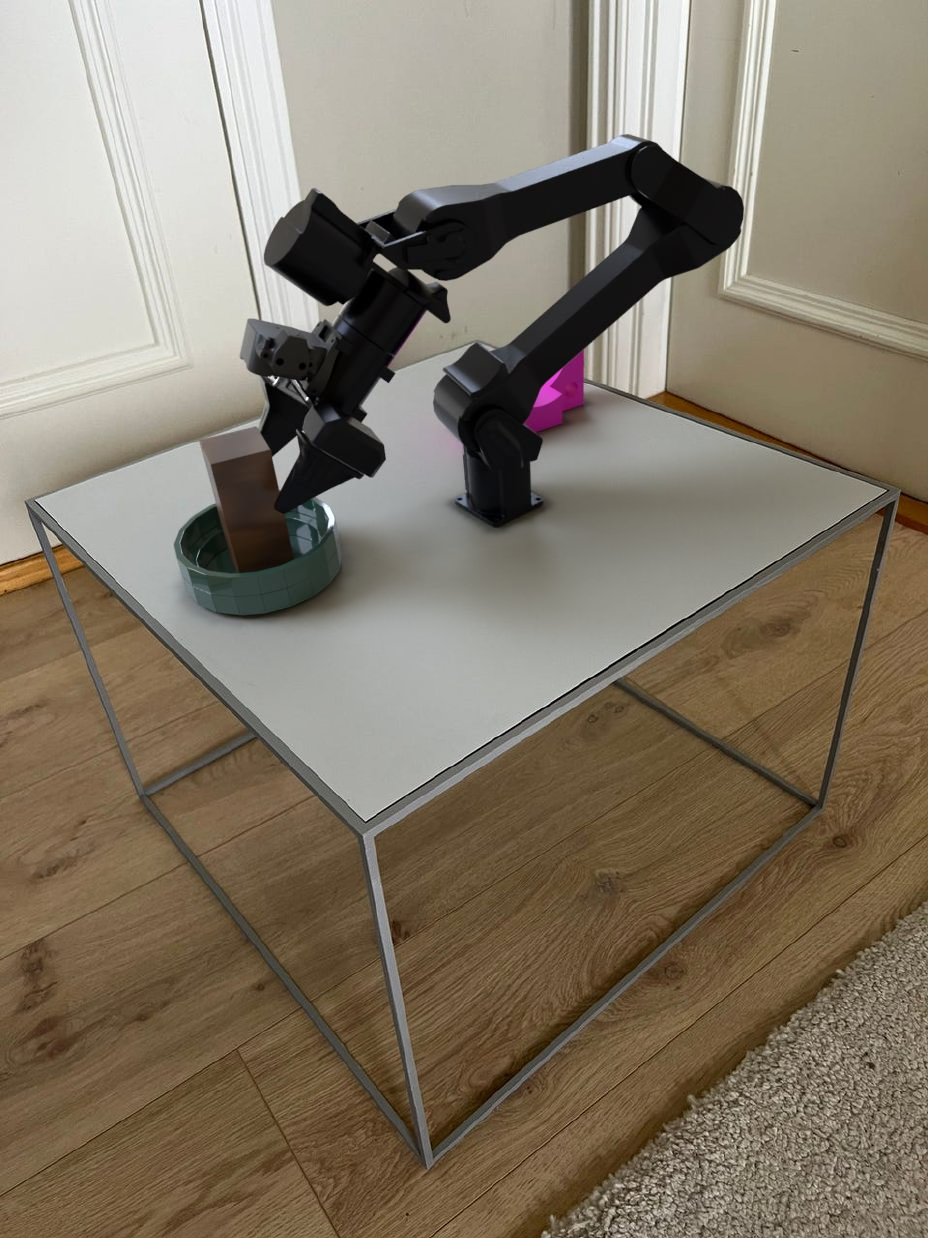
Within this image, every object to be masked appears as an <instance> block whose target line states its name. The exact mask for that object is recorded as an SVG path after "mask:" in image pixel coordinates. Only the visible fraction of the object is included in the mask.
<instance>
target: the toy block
mask: <svg viewBox="0 0 928 1238" xmlns="http://www.w3.org/2000/svg"><path fill="white" fill-rule="evenodd" d="M584 376H585V349H584V350H583V351H582V352H580V353H579V354H578V355H577V356H576V357H575V358H574V359H572V360H571V361H570V362H569V363H568V364H567V365H566V366H564V367H563V368H562V369H561V370H560V371H559V372H558V373H557V374H555V375H554V376H553V377H552V378H551V379H550V380H549V381H547V382H546V383H545V384H544V386H543V387H542V388H541V390H540V392H539V395H538V397H537V399H536V402H535V404H534V407H533V409H532V411H531V414H530V416H529V418H528V419H527V420H526V421H525V424H526V425H527V426H529V427H530V428H531V429H532V430H533V431H534V432H535V433H537V432H540V431H543V430H545V429H549V428H552V427H555V426H558V425H561V424H563V412H564V411H568V410H571V409H573V408H577V407H580V406H582V405H584V402H585V401H584V397H585V393H584V391H585V389H584V388H585V385H584V384H585V377H584Z"/></svg>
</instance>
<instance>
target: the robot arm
mask: <svg viewBox="0 0 928 1238" xmlns="http://www.w3.org/2000/svg"><path fill="white" fill-rule="evenodd" d="M627 197H629V198H630V199H631V200H632V201H633V202H634V203H636V204H637V205H638V206H639V207H640V208H639V209H638V211H637V213H636V216H635V219H634V221H633V224H632V226H631V228H630V231H629V232H628V233H629V234H628V236H627V238H626V239H625V240H623V242H621V244H620V245H619V246H617V247H616V248H615V249H614V250H613V251H612V252H611V253H609V255H607V256H606V257H605V258H604V259H603V260H601V262H599V263H598V264H597V265H596V266H595V267H594V268H592V270H590V271H589V272H588V273H587V274H586V275H585V276H584V277H582V278H581V279H580V280H578V282H577V283H576V284H574V285H573V286H572V287H571V288H570V289H569V290H568V291H567V292H566V293H564V294H563V295H562V296H561V297H560V298H558V299H557V301H555V302H554V303H553V304H552V305H551V306H549V308H548V309H546V311H544V312H542V314H541V315H540V316H538V317H537V318H536V319H535V320H534V321H533V322H532V323H531V324H529V326H527V327H526V328H525V329H524V330H523V331H522V332H520V333H519V334H518V335H517V336H516V337H514V339H513V340H511V341H510V342H509V343H507V344H506V345H504V346H501V347H498V348H496V349H492V350H489V349H488V348H486V347H485V346H484V345H482V344H481V343H480V342H479V341H476V342H474V343H473V344H472V345H470V346H469V347H468V348H467V349H466V350H465V351H464V353H463V354H462V355H461V356H460V358H458V359H457V360H456V361H454V362H453V363H452V364H450V365H446V366H444V367H443V368H442V372H443V373H445V374H444V375H443V376H442V378H441V379H440V380H439V381H438V382H437V384H436V386H435V387H434V389H433V393H434V394H433V401H432V406H433V412H434V414H435V416H436V418H437V419H438V421H440V422H441V423H442V425H443V426H444V427H446V429H447V430H448V431H449V432H450V433H451V434H452V436H454V437H455V438H456V439H457V440H458V441H459V442H460V443H461V444H462V448H463V454H462V462H463V475H464V488H465V489H464V490H465V491H466V492H465V493H463V494H461V495H458V496H456V497H455V498H454V504H455V505H456V506H458V507H459V508H461V509H463V510H464V511H466V512H468V513H470V514H471V515H473V516H474V517H476V518H477V519H479V520H481V521H482V522H484V523H486V524H487V525H489V526H491V527H495V528H496V527H499V526H501V525H503V524H505V523H507V522H510V521H513V520H514V519H516V518H518V517H520V516H522V515H524V514H526V513H529V512H530V511H532V510H534V509H536V508H538V507H541V506H542V505H544V501H545V500H544V499H545V498H543V497H542V496H541V495H539V494H537V493H535V492H534V491H532V474H531V473H532V472H531V470H532V469H531V463H533V462H535V461H537V460H538V458H539V456H540V452H541V449H542V445H543V443H544V439H543V438H542V436H540V435H539V434H538V433H537V432H534V431H533V430H532V429H531V428H530V427H529V426H527V425H526V424H525V421H526V420H527V419H528V418H529V416H530V414H531V411H532V409H533V407H534V404H535V402H536V399H537V397H538V395H539V392H540V390H541V388H542V387H543V386H544V384H545V383H546V382H547V381H549V380H550V379H551V378H552V377H553V376H554V375H555V374H557V373H558V372H559V371H560V370H561V369H562V368H563V367H564V366H566V365H567V364H568V363H569V362H570V361H571V360H572V359H574V358H575V357H576V356H577V355H578V354H579V353H580V352H582V351H583V350H584V351H585V349H586V348H587V347H589V346H590V345H591V344H592V343H594V341H595V340H596V339H598V338H599V337H600V336H601V335H602V334H603V333H604V332H605V331H607V330H608V329H609V328H610V327H611V326H612V325H614V324H615V323H616V322H617V321H618V320H619V319H620V318H622V317H623V316H624V315H625V314H627V312H629V310H630V309H632V308H633V307H634V306H636V304H637V303H638V302H640V301H641V300H642V299H643V298H644V297H645V296H647V295H648V294H649V293H650V292H651V291H652V290H654V289H655V287H657V286H658V285H659V284H660V283H662V282H663V281H665V280H667V279H670V278H674V277H677V276H680V275H682V274H683V275H684V274H686V273H688V272H692V271H695V270H698V269H700V268H701V267H704V266H705V265H707V264H708V263H710V262H712V260H715V258H717V257H719V256H720V255H721V254H723V253H724V252H726V251H728V250H729V249H731V247H732V246H733V245H734V244H735V242H737V240H738V239H739V237H740V236H741V233H742V225H743V222H744V218H745V217H744V216H745V215H744V214H745V205H744V201H743V198H742V196H741V195H740V193H739V191H738V190H736V189H735V188H734V187H732V186H731V185H728V184H724V183H721V182H718V181H715V180H712V179H709V178H706V177H702V176H701V175H699V174H697V172H695V171H693V170H692V169H690V168H688V167H687V166H685V165H684V164H683V163H681V162H679V161H678V160H677V159H675V158H674V157H673V156H671V155H670V154H669V153H667V152H666V151H665V150H664V149H663V147H661V145H659V144H658V142H655V141H653V140H651V139H650V140H649V139H646V138H644V137H643V138H642V137H640V136H637V135H633V134H631V133H630V134H629V133H625V134H620V135H618V136H616V137H614V138H612V139H611V140H610V141H609V142H606V143H603V144H600V145H598V146H595V147H592V148H589V149H587V150H583V151H581V152H577V153H575V154H571V155H569V156H566V157H563V158H561V159H558V160H555V161H552V162H549V163H546V164H543V165H541V166H538V167H535V168H531V169H530V170H529V169H528V170H526V171H524V172H521V173H517V174H516V175H513V176H509V177H506V178H504V179H501V180H497V181H495V182H489V183H483V184H450V185H444V186H443V185H442V186H436V187H429V188H421V189H416V190H414V191H411V192H410V193H408V194H406V195H404V196H403V197H402V198H401V199H400V200H399V201H398V202H397V203H398V205H397V207H396V208H395V209H392V210H388V211H386V212H384V213H381V214H378V215H375V216H372V217H370V218H367V219H364V220H362V221H359V222H356V221H354V220H353V219H352V218H350V217H349V216H348V215H346V213H344V212H343V211H342V210H340V208H339V206H337V204H336V203H335V202H334V200H332V199H331V198H329V197H328V196H327V195H326V194H324V193H323V192H321V190H319V189H317V188H316V187H313V188H311V189H310V191H309V192H308V194H307V195H306V197H305V199H303V200H301V201H298V202H297V203H296V204H295V205H293V206H292V208H291V209H289V211H288V212H287V213H286V214H285V215H284V217H283V216H280V218H278V220H277V222H276V223H275V225H274V227H273V229H272V230H271V232H270V234H269V237H268V239H267V241H266V244H265V247H264V251H263V263H264V265H265V266H266V267H268V268H269V269H270V270H271V271H273V272H275V273H276V274H278V275H279V276H280V277H281V278H283V279H285V280H286V281H287V282H290V284H292V285H294V286H295V287H296V288H297V289H300V291H302V292H304V293H305V294H307V295H308V296H310V297H311V298H312V299H314V300H315V301H316V302H318V303H319V304H321V305H322V306H325V307H331V306H333V305H335V304H337V303H339V304H340V305H342V308H341V309H340V311H339V313H338V314H337V316H336V317H335V319H334V320H333V321H332V323H331V321H328V319H326V318H324V319H323V321H321V320H319V321H317V323H316V325H315V327H314V328H313V329H312V331H306V330H302V329H300V328H299V329H298V328H296V327H292V326H290V325H289V326H288V325H283V324H279V323H275V322H271V321H266V320H262V319H257V318H247V320H246V323H245V329H244V333H243V338H242V341H241V347H240V351H239V356H238V358H239V359H240V360H243V361H244V363H245V368H246V369H247V371H249V372H250V373H252V374H254V375H256V376H258V379H259V381H260V384H261V388H262V392H263V396H264V405H263V409H262V414H261V416H260V421H259V425H258V427H257V428H258V430H259V432H260V433H261V435H262V437H263V438H264V440H265V442H266V443H267V445H268V447H269V448H270V450H271V454H272V458H273V457H274V456H276V455H277V454H278V453H279V452H280V451H281V450H283V449H284V448H285V447H286V446H287V445H288V444H289V443H290V442H292V441H293V440H294V439H295V438H297V444H298V449H299V453H298V456H297V458H296V460H295V462H294V464H293V466H292V468H290V469H291V470H290V471H289V473H288V475H287V477H286V479H285V481H284V483H283V484H282V487H281V489H280V490H281V491H280V493H279V495H278V497H277V499H276V502H275V504H274V509H275V510H276V511H278V512H280V513H282V514H285V513H287V512H289V511H291V510H293V509H294V508H296V507H298V506H300V505H302V504H304V503H305V502H307V501H309V500H311V499H313V498H314V497H316V498H317V497H318V496H320V495H322V494H324V493H326V492H327V491H329V490H331V489H334V488H336V487H338V486H341V485H342V484H344V483H347V482H348V481H351V480H353V479H357V480H361V479H363V478H364V477H365V476H366V477H368V478H369V479H371V478H374V477H375V476H376V475H377V473H378V472H379V470H380V469H381V467H382V466H383V465H384V463H385V462H386V461H387V456H386V449H385V444H384V443H383V442H382V440H381V439H380V438H379V437H378V436H377V435H376V433H375V432H374V431H373V430H372V428H371V427H369V426H368V425H366V424H364V423H363V422H364V420H365V418H366V417H367V416H368V412H367V411H366V410H365V409H364V407H362V406H363V405H364V403H365V401H366V400H367V399H368V397H369V396H370V395H371V393H372V392H373V390H374V388H375V387H376V386H377V385H378V383H379V382H380V380H383V381H384V382H386V383H387V384H390V383H391V381H392V380H393V378H394V376H395V375H396V374H397V373H396V372H395V371H394V370H393V369H392V368H391V367H390V365H391V364H392V362H393V361H394V360H395V358H396V357H397V355H398V353H399V352H400V351H401V350H402V348H403V346H404V345H405V343H406V342H407V340H408V339H409V338H410V336H411V335H412V333H413V332H414V330H415V329H416V327H418V324H419V323H420V321H422V319H423V318H424V315H426V313H427V312H428V313H430V314H431V315H433V316H434V317H435V318H437V319H438V320H439V321H441V322H442V323H444V324H449V323H450V322H451V320H452V317H451V313H450V307H449V304H448V293H449V291H448V289H447V287H445V286H444V285H443V284H441V283H440V282H438V281H443V282H447V281H453V280H454V281H455V280H457V279H459V278H462V277H464V276H465V275H467V274H469V273H470V272H472V271H473V270H475V269H477V268H478V267H481V266H482V265H484V264H486V263H488V262H489V261H491V260H492V259H493V258H495V256H496V255H497V254H498V253H499V252H500V251H501V250H502V249H503V248H504V247H505V245H507V244H508V243H510V242H511V241H514V240H515V239H517V238H518V237H520V236H523V235H526V234H529V233H531V232H533V231H536V230H539V229H543V228H545V227H547V226H550V225H552V224H555V223H558V222H561V221H563V220H566V219H569V218H572V217H574V216H577V215H580V214H583V213H587V212H588V211H591V210H594V209H597V208H599V207H602V206H605V205H607V204H610V203H613V202H615V201H619V200H622V199H624V198H627ZM377 255H381V256H382V257H384V258H385V259H386V260H387V261H389V262H390V263H391V264H392V265H394V266H395V267H393V268H391V269H389V270H386V269H384V268H383V267H382V266H381V265H380V264H378V263H377V262H375V261H374V260H375V259H376V257H377ZM412 270H413V271H422V272H423V273H424V274H426V275H428V276H429V277H431V278H433V279H436V280H438V281H434V282H431V283H426V282H424V281H423V280H422V279H420V278H419V277H417V276H416V275H415V274H414V273H412Z"/></svg>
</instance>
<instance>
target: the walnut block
mask: <svg viewBox="0 0 928 1238" xmlns="http://www.w3.org/2000/svg"><path fill="white" fill-rule="evenodd" d="M198 442H199V446H200V449H201V452H202V457H203V461H204V465H205V469H206V472H207V476H208V479H209V482H210V488H211V490H212V494H213V498H214V501H215V502H214V503H216V506H217V510H218V513H219V517H220V521H221V525H222V528H223V532H224V536H225V540H226V543H227V547H228V551H229V555H230V558H231V562H232V564H233V566H234V569H235V571H236V573H247V572H258V571H262V570H266V569H269V568H273V567H277V566H281V565H283V564H285V563H287V562H290V561H292V560H294V556H293V551H292V546H291V542H290V537H289V533H288V528H287V523H286V519H285V514H282V513H280V512H278V511H276V510H275V509H274V504H275V502H276V499H277V497H278V495H279V493H280V491H279V490H280V487H279V483H278V478H277V473H276V468H275V464H274V460H273V457H272V454H271V450H270V448H269V447H268V445H267V443H266V442H265V440H264V438H263V437H262V435H261V433H260V432H259V430H258V427H257V426H252V427H249V428H247V427H246V428H244V429H239V430H236V431H231V432H226V433H223V434H219V435H214V436H210V437H207V438H201V439H199V441H198Z"/></svg>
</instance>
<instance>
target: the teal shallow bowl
mask: <svg viewBox="0 0 928 1238" xmlns="http://www.w3.org/2000/svg"><path fill="white" fill-rule="evenodd" d="M279 491H281V489H279ZM285 519H286V523H287V528H288V533H289V537H290V542H291V546H292V551H293V556H294V560H292V561H290V562H287V563H285V564H283V565H281V566H277V567H273V568H269V569H266V570H262V571H258V572H247V573H236V571H235V569H234V566H233V564H232V562H231V558H230V555H229V551H228V547H227V543H226V540H225V536H224V532H223V528H222V525H221V521H220V517H219V513H218V510H217V506H216V502H214V503H212V504H210V505H208V506H206V507H205V508H203V509H202V510H199V511H198V512H196V513H195V514H194V515H192V516H190V517H189V519H188V520H186V522H185V523H184V524H183V525H182V526H181V527H180V528H179V530H178V531H177V534H176V536H175V539H174V542H173V550H174V553H175V559H176V561H177V564H178V568H179V570H180V574H181V577H182V580H183V584H184V587H185V590H186V593H187V595H188V596H189V597H190V598H191V599H192V600H193V601H194V602H195V603H196V604H197V605H198V606H199V607H201V608H202V607H203V608H205V609H207V610H210V611H212V612H214V613H220V614H228V615H236V616H250V615H265V614H268V613H273V612H276V611H280V610H284V609H287V608H291V607H294V606H295V605H298V604H301V603H302V602H304V601H306V600H308V599H311V598H312V597H315V596H316V595H317V594H318V593H320V592H321V591H322V590H324V589H325V588H326V587H328V585H330V584H331V583H332V582H333V580H334V579H335V577H336V575H337V574H338V572H339V571H340V569H341V564H342V555H343V554H342V548H341V543H340V537H339V536H340V535H339V532H338V531H339V530H338V525H337V519H336V516H335V514H334V512H333V510H332V509H331V506H330V505H328V504H326V503H325V502H324V501H322V500H321V499H320V498H318V497H317V496H316V497H314V498H313V499H311V500H309V501H307V502H305V503H304V504H302V505H300V506H298V507H296V508H294V509H293V510H291V511H289V512H287V513H285Z"/></svg>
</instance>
